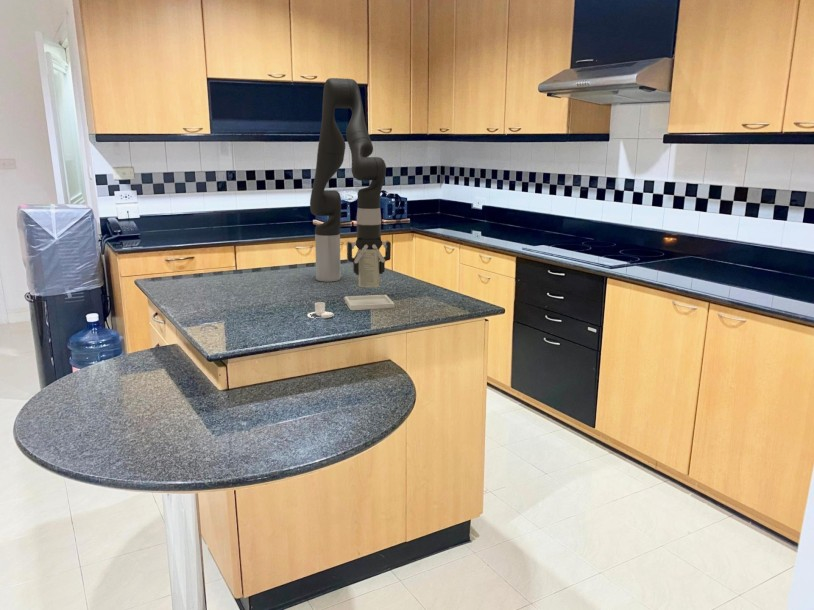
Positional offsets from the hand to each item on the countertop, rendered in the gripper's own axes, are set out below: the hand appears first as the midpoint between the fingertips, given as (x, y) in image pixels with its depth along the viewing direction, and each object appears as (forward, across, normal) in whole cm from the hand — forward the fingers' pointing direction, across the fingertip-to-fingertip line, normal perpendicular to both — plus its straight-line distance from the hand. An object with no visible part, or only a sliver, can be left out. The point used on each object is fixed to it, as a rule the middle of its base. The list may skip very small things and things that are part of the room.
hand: (368, 273), depth 205 cm
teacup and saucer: (+11, +18, +12) cm, 25 cm away
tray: (+10, 0, 0) cm, 10 cm away
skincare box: (+4, 0, 0) cm, 4 cm away
